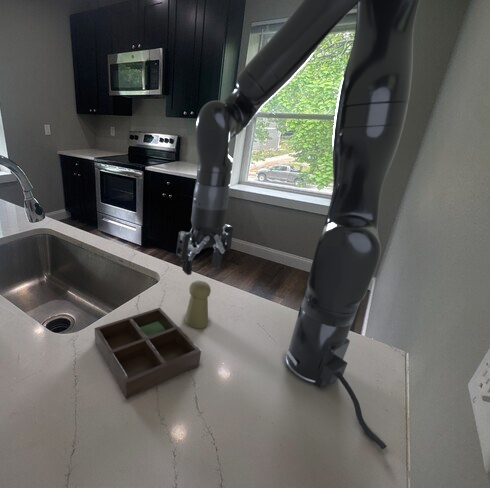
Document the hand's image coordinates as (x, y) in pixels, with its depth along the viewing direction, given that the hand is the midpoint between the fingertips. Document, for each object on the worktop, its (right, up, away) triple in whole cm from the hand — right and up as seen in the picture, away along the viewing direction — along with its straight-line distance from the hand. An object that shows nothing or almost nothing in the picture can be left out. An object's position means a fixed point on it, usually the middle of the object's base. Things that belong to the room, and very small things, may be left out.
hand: (201, 269), depth 71 cm
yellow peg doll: (-1, -14, +6) cm, 15 cm away
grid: (-13, -18, -6) cm, 23 cm away
